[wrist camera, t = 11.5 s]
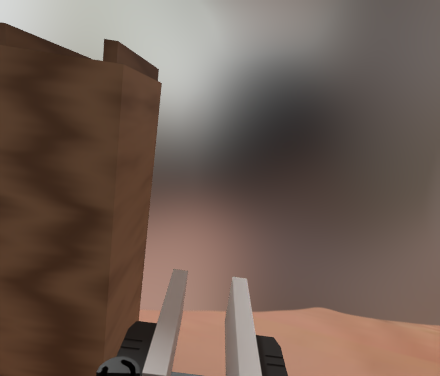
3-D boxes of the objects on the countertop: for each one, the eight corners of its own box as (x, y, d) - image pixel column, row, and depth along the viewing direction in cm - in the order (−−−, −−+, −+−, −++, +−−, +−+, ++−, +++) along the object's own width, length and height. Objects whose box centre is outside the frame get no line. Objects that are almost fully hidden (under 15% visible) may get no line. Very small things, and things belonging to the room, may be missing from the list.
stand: (-2, 439, 25) (-17, 19, 17) (69, 335, 36) (78, 56, 29) (97, 451, 25) (125, 42, 18) (136, 343, 37) (162, 70, 29)
